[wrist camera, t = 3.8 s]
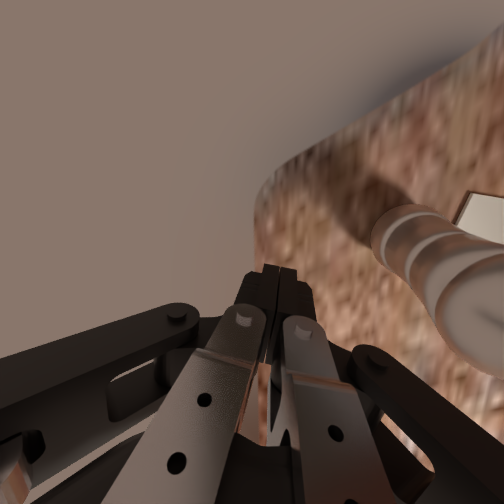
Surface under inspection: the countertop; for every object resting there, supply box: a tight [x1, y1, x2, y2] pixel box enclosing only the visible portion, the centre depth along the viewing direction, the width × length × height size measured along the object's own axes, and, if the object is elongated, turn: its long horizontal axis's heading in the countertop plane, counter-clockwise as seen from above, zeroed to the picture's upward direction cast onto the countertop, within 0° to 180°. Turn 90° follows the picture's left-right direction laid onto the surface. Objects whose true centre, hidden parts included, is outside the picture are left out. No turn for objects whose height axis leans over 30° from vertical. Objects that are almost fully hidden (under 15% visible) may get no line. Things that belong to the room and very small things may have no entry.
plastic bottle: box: [370, 204, 504, 380], centre depth 16 cm, size 6×7×20 cm
